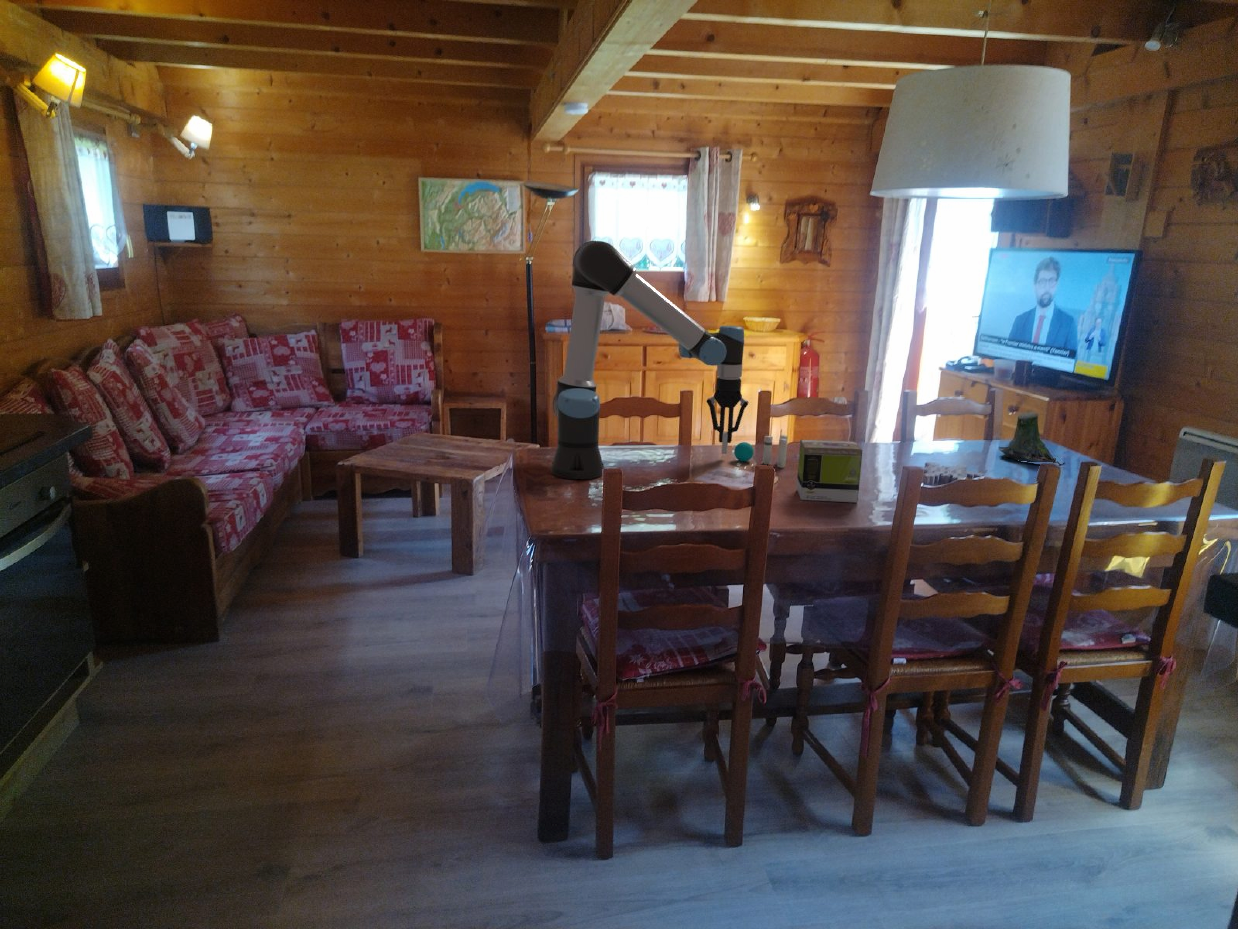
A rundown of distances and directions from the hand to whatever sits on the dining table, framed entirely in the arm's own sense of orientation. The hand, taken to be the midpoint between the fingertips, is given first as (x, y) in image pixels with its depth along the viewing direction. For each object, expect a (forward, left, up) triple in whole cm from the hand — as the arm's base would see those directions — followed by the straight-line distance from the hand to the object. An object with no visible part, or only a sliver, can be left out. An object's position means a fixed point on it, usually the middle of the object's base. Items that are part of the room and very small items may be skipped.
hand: (724, 452), depth 252 cm
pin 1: (+14, +11, -2) cm, 18 cm away
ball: (+5, +3, +1) cm, 6 cm away
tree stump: (+66, +80, -3) cm, 104 cm away
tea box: (+42, -11, -3) cm, 43 cm away
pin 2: (+17, +6, -2) cm, 18 cm away
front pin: (+11, +6, -2) cm, 13 cm away
